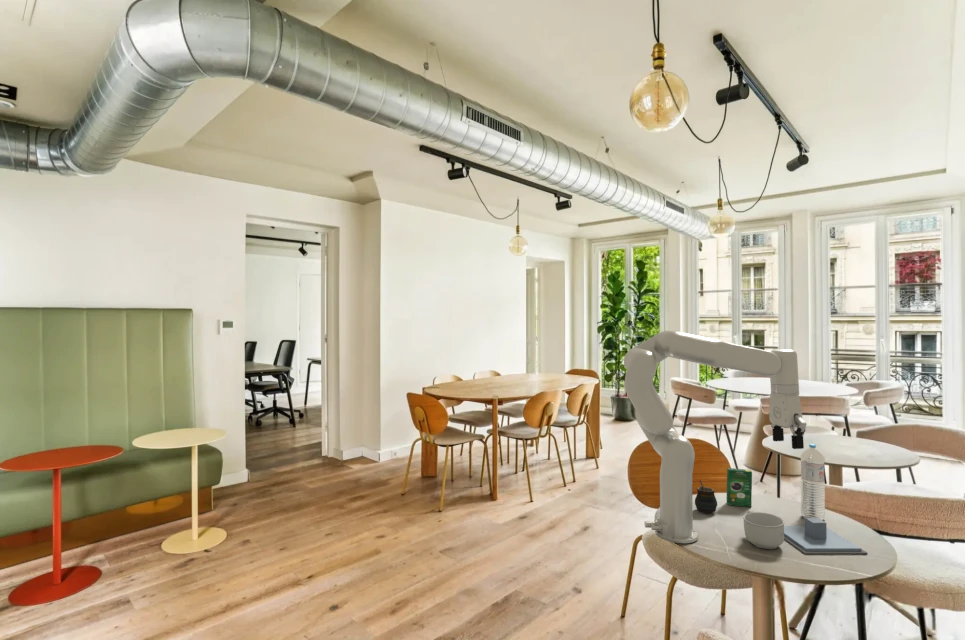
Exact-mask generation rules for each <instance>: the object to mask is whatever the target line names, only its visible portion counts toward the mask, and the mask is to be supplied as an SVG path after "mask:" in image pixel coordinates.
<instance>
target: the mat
mask: <svg viewBox="0 0 965 640" xmlns="http://www.w3.org/2000/svg"><path fill="white" fill-rule="evenodd" d="M784 541H785V542H787V543H788V544H790V545H791V546H793V548H795V549H796V550H798V551H800V552H801V553H802V554H804V555H808V556H809V555H811V556H812V555H813V556H814V555H828V556H829V555H836V556H837V555H850V556H851V555H859V556H860V555H867V556H868V551H865V550H864V549H862V551H805V550H804V549H802V548H801V547H800V546H798V545H797V544H795V543H794V542H792V541H791V540H790V539H788V538H787V537H785V536H784Z"/></svg>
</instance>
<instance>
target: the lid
mask: <svg viewBox="0 0 965 640" xmlns="http://www.w3.org/2000/svg"><path fill="white" fill-rule="evenodd" d="M784 536H785V537H787V538H788V539H790V540H791V541H792V542H794V543H795V544H797V545H798V546H800V547H801V548H802V549H804V550H805V551H862V550H863V549H862V548H861V547H860V546H858V545H856V544H855V543H853V542H852V541H850V540H849V539H846V537H844V536H841V535H840V534H838V533H837V532H834V531H833V530H832V529H830V528H828V527H827V522H826V521H824V520H823V521H822V520H821V519H819V518H804V525H784Z"/></svg>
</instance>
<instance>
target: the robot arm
mask: <svg viewBox="0 0 965 640" xmlns="http://www.w3.org/2000/svg"><path fill="white" fill-rule="evenodd" d="M667 358H671V359H678V360H681V361H687V362H690V363H694V364H695V363H696V364H700V365H704V366H705V365H706V366H710V367H714V368H719V369H720V368H722V369H729V370H735V371H740V372H744V373H750V374H754V375H759V376H762V377H763V376H764V377H769V380H770V395H769V402H768V403H769V409H768V417H769V418H768V419H769V422H770V426H771V430H772V431H771V432H772V441H773V442H784V440H785V437H784V436H785V434H784V429H789V430H790V432H791V433H792V434H791V436H790V437H791V448H792V449H793V450H799V449H800V450H801V449H804V448H805V445H804V444H805V443H804V436H805V432H806V429H807V425H808V424H807V422H806V421H805V420H804V419H803V412H802V411H803V410H802V403H801V398H800V385H799V384H800V383H799V382H800V381H799V366H798V365H799V364H798V353H797V351H795V350H793V349H789V348H788V349H786V348H785V349H773V350H764V349H761V348H756V347H750V346H745V345H740V344H736V343H731V342H728V341H726V340H725V341H724V340H720V339H715V338H713V337H711V338H710V337H706V336H701V335H698V334H697V335H696V334H691V333H687V332H683V331H679V330H676V331H675V330H664V331H661V332H658V333H657V334H655V335H653V336H651V337H650V338H648V339H646V340H645V341H643V342H641V343H639V344H638V345H635V346H634V347H632V348H631V349H629V350H628V351H627V352H626V354H625V355H624V359H623V364H624V366H625V368H626V372H625V375H624V376H625V378H624V388H625V389H624V390H625V392H626V394H627V397H628V398H629V400H630V402H631V404H632V405H633V408H634V409H635V418H636V422H637V423H638V425H639V427H640V429H641V430H642V432H643V434H644V435H645V437H646V438H647V440H648V442H649V443H650V444H651V446H652V448H653V450H654V451H655V453H657V454H658V455H659V456H660V457H661V464H660V469H659V517H658V516H657V517H656V519H655V520H654V521H651V520H647V521H644V528H647V529H649V528H650V529H651V531H654V534H655V535H656V536H657V537H658V538H660V539H661V540H664V541H666V542H670V543H675V544H692V543H695V542H696V541H698V539H699V534H698V532H697V531H696V530H695V529H694V528H693V521H694V520H693V470H694V465H695V449H694V446H693V445H692V443H691V441H690V440H689V439H688V437H685V436H684V435H682V434H681V433H679V432H678V431H677V429H676V428H675V426H674V418H673V415H672V414H671V412H670V410H669V409H668V408H667V406H666V404H665V403H664V401H663V400H662V398H661V397H660V395H659V393H658V391H657V389H656V388H655V385H654V376H655V373H656V371H657V368H658V366H659V363H660V362H662V361H664V360H665V359H667Z"/></svg>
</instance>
